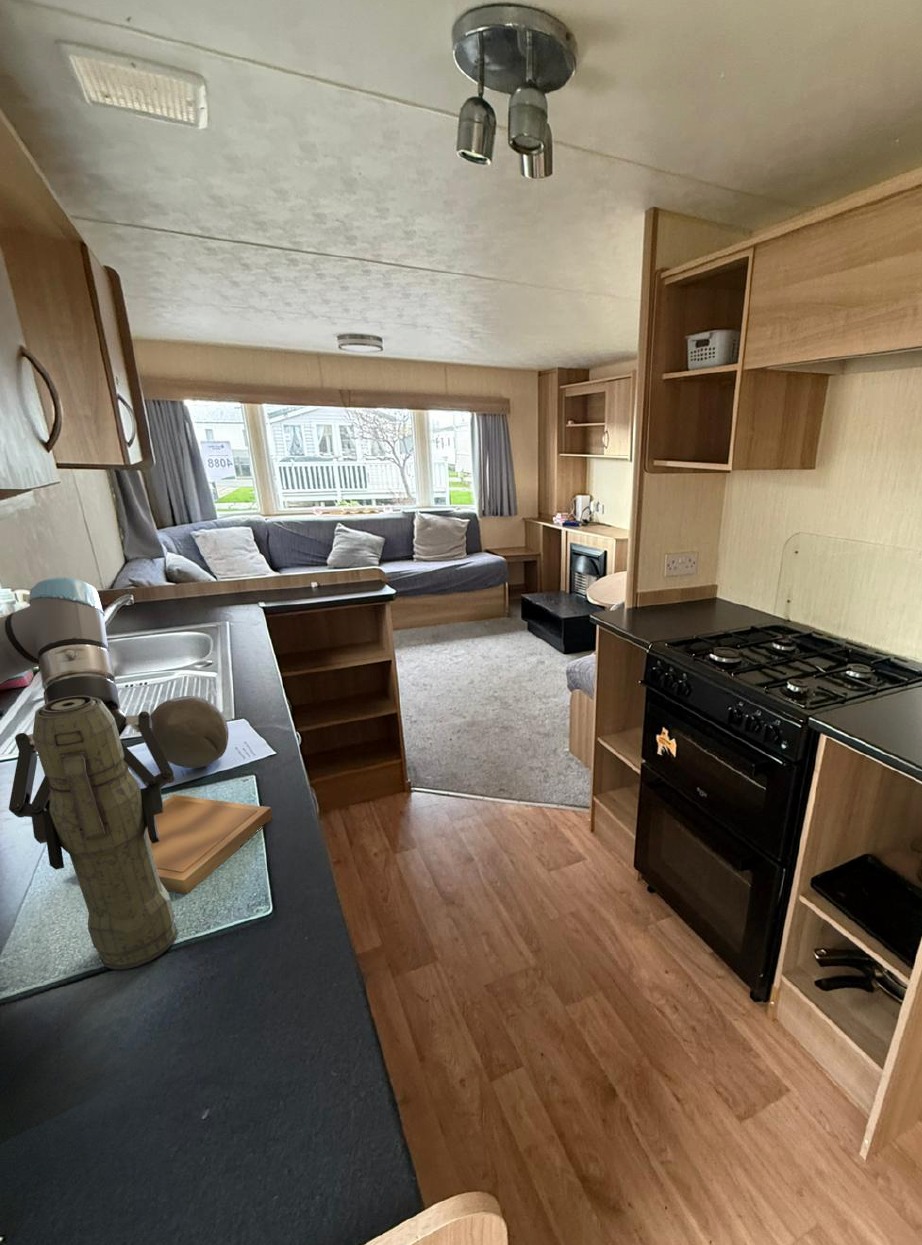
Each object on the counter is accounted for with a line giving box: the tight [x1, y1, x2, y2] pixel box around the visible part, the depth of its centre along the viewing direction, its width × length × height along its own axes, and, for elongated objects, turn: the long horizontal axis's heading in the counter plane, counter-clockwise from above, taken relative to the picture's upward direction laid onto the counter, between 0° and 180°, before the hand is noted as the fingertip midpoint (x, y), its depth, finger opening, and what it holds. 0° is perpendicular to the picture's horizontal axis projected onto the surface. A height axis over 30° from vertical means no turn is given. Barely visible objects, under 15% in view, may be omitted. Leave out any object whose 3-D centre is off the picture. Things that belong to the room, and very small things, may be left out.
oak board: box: [146, 794, 273, 894], centre depth 102 cm, size 20×20×3 cm
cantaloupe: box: [149, 695, 230, 769], centre depth 125 cm, size 14×14×15 cm
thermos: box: [32, 696, 178, 970], centre depth 75 cm, size 9×12×35 cm
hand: (107, 852), depth 73 cm, fingers closed on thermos, 9 cm apart
